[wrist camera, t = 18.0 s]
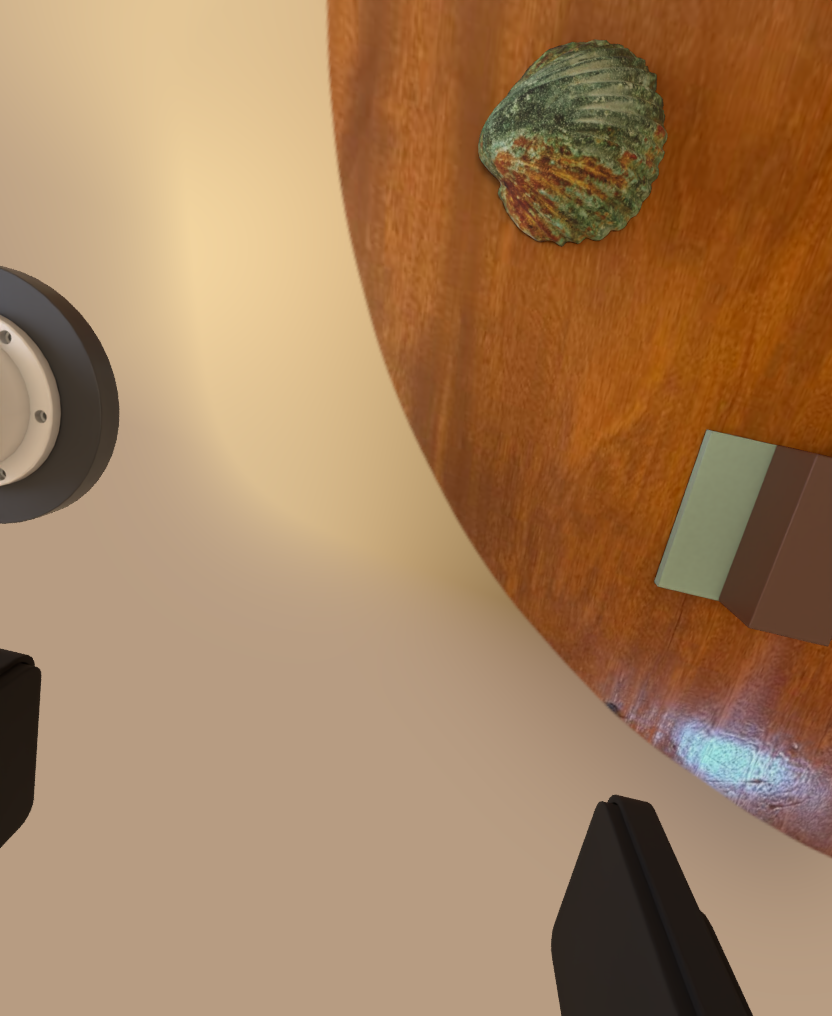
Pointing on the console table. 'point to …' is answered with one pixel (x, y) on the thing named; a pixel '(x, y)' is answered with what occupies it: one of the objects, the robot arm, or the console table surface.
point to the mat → (714, 514)
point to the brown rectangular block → (787, 551)
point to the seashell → (576, 142)
